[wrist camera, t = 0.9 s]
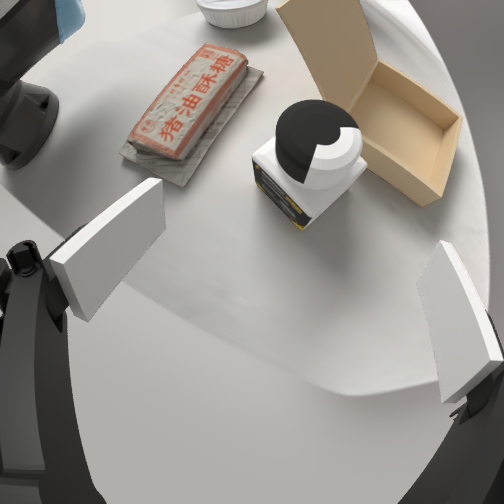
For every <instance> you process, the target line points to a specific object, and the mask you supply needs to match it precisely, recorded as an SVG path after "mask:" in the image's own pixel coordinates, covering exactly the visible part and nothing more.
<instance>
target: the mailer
mask: <svg viewBox="0 0 504 504" xmlns="http://www.w3.org/2000/svg"><path fill="white" fill-rule="evenodd" d="M275 9H276V11H277V12H278V14H279V15H280V17H281V19H282V20H283V22H284V24H285V26H286V27H287V29H288V31H289V33H290V34H291V36H292V38H293V40H294V42H295V43H296V45H297V47H298V49H299V51H300V53H301V55H302V57H303V59H304V61H305V63H306V65H307V67H308V69H309V71H310V73H311V75H312V77H313V79H314V81H315V83H316V85H317V87H318V90H319V92H320V94H321V96H322V99H323V101H327V102H330V103H333V104H335V105H337V106H339V107H341V108H342V109H344V110H345V111H346V112H347V113H349V114H350V115H351V116H352V118H353V119H354V120H355V121H356V123H357V125H358V126H359V129H360V131H361V135H362V141H363V144H362V151H361V154H360V156H361V157H362V158H363V159H364V160H365V161H366V163H367V169H369V170H370V171H372V172H373V173H375V174H376V175H378V176H379V177H381V178H382V179H384V180H385V181H386V182H388V183H389V184H391V185H392V186H394V187H395V188H396V189H398V190H399V191H400V192H402V193H403V194H405V195H406V196H407V197H409V198H410V199H411V200H412V201H414V202H415V203H416V204H418V205H419V206H420V207H423V206H425V205H427V204H429V203H431V202H433V201H436V200H438V199H440V198H442V195H443V192H444V189H445V186H446V182H447V179H448V176H449V173H450V169H451V166H452V162H453V159H454V155H455V151H456V147H457V143H458V139H459V134H460V130H461V125H462V120H463V117H462V116H461V115H460V114H458V113H457V112H456V111H455V110H454V109H452V108H451V107H450V106H449V105H448V104H446V103H445V102H444V101H442V100H441V99H440V98H439V97H437V96H436V95H435V94H433V93H432V92H431V91H429V90H428V89H426V88H425V87H424V86H422V85H421V84H419V83H418V82H416V81H415V80H413V79H412V78H410V77H409V76H407V75H406V74H404V73H403V72H401V71H399V70H398V69H396V68H394V67H393V66H391V65H389V64H388V63H386V62H384V61H383V60H381V59H379V58H377V54H376V50H375V47H374V43H373V40H372V37H371V34H370V31H369V27H368V25H367V22H366V19H365V16H364V13H363V10H362V8H361V5H360V2H359V0H286V1H285V2H283V3H282V4H281V5H279V6H278V7H277V8H275Z"/></svg>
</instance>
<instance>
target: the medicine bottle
mask: <svg viewBox="0 0 504 504" xmlns="http://www.w3.org/2000/svg"><path fill="white" fill-rule="evenodd" d="M362 144H363V141H362V135H361V131H360V129H359V126H358V125H357V123H356V121H355V120H354V119H353V118H352V116H351V115H350V114H349V113H347V112H346V111H345V110H344V109H342V108H341V107H339V106H337V105H335V104H333V103H330V102H327V101H323V100H304V101H300V102H297V103H295V104H293V105H291V106H290V107H288V108H287V109H286V110H285V111H284V112H283V113H282V114H281V116H280V117H279V119H278V122H277V125H276V136H275V137H273V138H272V139H271V140H269V141H268V142H267V143H266V144H264V145H263V146H262V147H261V148H259V149H258V150H257V151H256V152H254V153H253V155H252V162H253V169H254V176H255V182H256V184H257V185H258V186H259V187H260V188H261V189H262V190H263V191H264V192H265V193H266V194H267V195H268V197H269V198H270V199H271V200H272V201H273V202H274V203H275V204H276V205H277V206H278V207H279V208H280V209H281V210H282V211H283V212H284V213H285V214H286V215H287V217H288V218H289V219H290V220H291V221H292V222H293V223H294V224H295V225H296V226H297V227H298V228H299V229H300V230H304V229H305V228H306V227H308V226H309V225H310V224H311V223H312V222H313V221H314V220H315V219H316V218H317V217H318V216H319V215H321V214H322V213H323V212H324V211H325V210H326V209H327V208H328V207H329V206H330V205H331V204H332V203H333V202H335V201H336V200H337V199H338V198H339V197H340V196H341V195H342V194H343V193H344V192H345V191H346V190H347V189H348V188H349V187H350V186H351V185H352V184H353V183H354V181H355V180H356V179H357V178H358V177H359V176H360V175H361V174H362V173H363V171H364V170H365V169H366V168H367V163H366V161H365V160H364V159H363V158H362V157H361V156H360V154H361V151H362Z"/></svg>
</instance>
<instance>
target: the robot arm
mask: <svg viewBox="0 0 504 504" xmlns="http://www.w3.org/2000/svg"><path fill="white" fill-rule="evenodd" d="M84 21H85V12H84V9H83V6H82V2H81V0H0V163H1V164H2V165H3V166H5V167H7V168H10V169H12V170H15V169H19V168H21V167H23V166H24V165H25V164H27V163H28V162H29V161H30V160H31V159H32V158H33V157H34V156H35V154H36V153H37V152H38V151H39V149H40V148H41V146H42V145H43V143H44V142H45V140H46V139H47V137H48V135H49V133H50V131H51V129H52V127H53V125H54V122H55V119H56V116H57V112H58V98H57V96H56V95H55V94H54V93H53V92H52V91H50V90H49V89H47V88H45V87H41V86H37V85H33V84H29V83H25V82H23V81H21V80H20V78H21V77H22V76H23V75H24V74H25V73H26V72H27V71H29V70H30V69H31V68H32V67H33V66H34V65H35V64H36V63H37V62H38V61H40V60H41V59H42V58H43V57H44V56H46V55H47V54H48V53H49V52H50V51H51V50H53V49H54V48H55V47H57V46H58V45H59V44H63V42H64V41H65V40H66V39H67V38H68V37H70V36H71V35H72V34H73V33H75V32H76V31H77V30H79V29H80V28H81V27H82V25H83V24H84ZM165 229H166V225H165V212H164V196H163V179H156V178H148V179H146V180H145V181H144V182H142V183H141V184H139V185H138V186H136V187H135V188H134V189H132V190H131V191H130V192H128V193H127V194H125V195H124V196H123V197H121V198H120V199H119V200H117V201H116V202H115V203H114V204H112V205H111V206H110V207H108V208H107V209H106V210H105V211H103V212H102V213H101V214H99V215H98V216H97V217H96V218H95V219H93V220H92V221H91V222H89V223H87V224H85V225H83V226H81V227H79V228H78V229H77V230H76V231H75V232H74V233H72V235H70V236H69V237H68V238H67V239H65V241H63V242H62V243H61V244H60V245H59V246H58V247H57V248H55V249H54V250H53V251H52V252H51V253H50V254H49V255H48V256H47V257H46V258H45V259H44V260H43V261H42V259H41V256H40V253H39V251H38V248H37V246H36V243H35V242H34V241H31V240H26V241H22V242H20V243H18V244H16V245H15V246H13V247H12V248H11V249H10V250H9V252H8V253H7V255H6V256H7V259H8V261H9V263H10V265H11V268H12V269H10V268H9V266H8V264H7V262H6V260H5V259H4V258H0V309H1V311H2V312H3V314H2V316H1V317H0V504H106V501H105V500H104V498H103V497H102V495H101V494H100V493H99V492H98V491H97V490H96V488H95V486H94V484H93V482H92V479H91V476H90V472H89V469H88V466H87V462H86V459H85V455H84V451H83V447H82V443H81V438H80V435H79V430H78V424H77V419H76V414H75V408H74V402H73V394H72V387H71V378H70V368H69V356H68V335H67V314H66V312H65V309H66V308H67V307H68V306H70V308H71V310H72V312H73V314H74V315H75V316H76V317H78V318H80V319H82V320H85V321H86V322H89V321H90V320H91V318H92V317H93V316H94V314H95V313H96V311H97V310H98V309H99V308H100V306H101V305H102V304H103V303H104V301H105V300H106V299H107V297H108V296H109V295H110V294H111V292H112V291H113V290H114V289H115V287H116V286H117V285H118V284H119V283H120V281H121V280H122V279H123V278H124V276H125V275H126V274H127V273H128V272H129V270H130V269H131V268H132V267H133V266H134V265H135V263H136V262H137V261H138V260H139V259H140V257H141V256H142V255H143V254H144V253H145V252H146V251H147V249H148V248H149V247H150V246H151V245H152V244H153V243H154V242H155V240H156V239H157V238H158V237H159V236H160V235H161V234H162V233H163V231H164V230H165ZM416 286H417V289H418V292H419V296H420V299H421V303H422V306H423V310H424V314H425V317H426V321H427V325H428V329H429V334H430V338H431V342H432V347H433V352H434V357H435V362H436V367H437V373H438V379H439V386H440V393H441V400H442V403H457V402H458V401H459V400H460V399H461V398H463V397H464V396H465V395H466V396H467V402H466V403H465V404H463V405H462V406H461V407H459V408H458V409H457V410H455V411H454V412H452V413H451V415H450V416H449V417H452V416H454V415H455V414H457V413H458V415H457V417H456V418H455V419H453V420H454V423H453V424H452V426H451V428H450V430H449V431H448V433H447V435H446V437H445V438H444V440H443V442H442V443H441V445H440V447H439V448H438V450H437V451H436V453H435V454H434V456H433V458H432V459H431V461H430V462H429V464H428V465H427V467H426V468H425V469H424V471H423V472H422V474H421V475H420V476H419V478H418V479H417V480H416V482H415V483H414V484H413V485H412V487H411V488H410V489H409V490H408V492H407V493H406V494H405V495H404V497H403V498H402V499H401V500H400V501H399V502H398V504H504V352H503V348H502V346H501V343H500V340H499V338H498V334H497V332H496V330H495V327H494V324H493V321H492V319H491V317H490V316H489V314H488V313H487V311H486V310H485V308H484V306H483V304H482V302H481V299H480V297H479V295H478V293H477V291H476V289H475V287H474V285H473V283H472V281H471V279H470V277H469V275H468V273H467V271H466V269H465V267H464V265H463V263H462V261H461V260H460V258H459V256H458V254H457V252H456V251H455V249H454V247H453V246H452V244H451V243H448V242H445V241H442V240H439V241H438V243H437V245H436V247H435V250H434V252H433V254H432V256H431V258H430V259H429V261H428V263H427V265H426V267H425V269H424V271H423V273H422V275H421V276H420V278H419V280H418V282H417V284H416Z"/></svg>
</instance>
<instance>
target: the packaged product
mask: <svg viewBox="0 0 504 504" xmlns="http://www.w3.org/2000/svg"><path fill="white" fill-rule="evenodd" d="M247 65H248V60H247V59H246V57H245V56H244V55H243V54H241V53H240V52H238V50H232V49H229V48H225V47H222V46H219V45H215V44H210V43H205V44H204V45H203V46H202V47H201V48H200V49H199V50H198V51H197V52H196V53H195V54H194V55H193V56H192V57H191V58H190V59H189V61H188V62H187V63H186V64H185V65H183V67H182V68H181V69H180V70H179V71H178V72H177V74H176V75H175V76H174V77H173V78H172V79H171V81H170V82H169V83H168V85H166V86H165V88H164V89H163V90H162V92H161V93H160V94H159V95H158V96H157V98H156V99H155V100H154V102H153V103H152V104H151V105H150V107H149V108H148V109H147V111H146V112H145V113H144V115H143V116H142V118H141V120H140V121H139V122H138V123H137V124H136V125H135V127H134V128H133V130H132V131H131V133H130V135H129V136H128V139H127V141H126V143H125V144H124V146H123V147H122V149H121V150H120V151H119V154H120V155H122V156H123V157H125V158H126V159H128V160H130V161H132V162H134V163H136V164H139V165H141V166H143V167H145V168H146V169H148V170H149V171H151V172H153V173H155V174H156V175H158V176H160V177H162V178H164V179H166V180H167V181H170V182H172V183H175V184H177V185H180V186H182V187H184V186H185V185H186V183H187V182H188V180H189V179H190V177H191V176H192V174H193V173H194V171H195V170H196V168H197V166H198V165H199V163H200V162H201V160H202V158H203V157H204V155H205V153H206V152H207V150H208V148H209V147H210V146H211V144H212V143H213V141H214V140H215V139H216V137H217V136H218V134H219V133H220V132H221V130H222V129H223V127H224V126H225V125H226V123H227V122H228V121H229V120H230V119H231V117H232V116H233V114H234V113H235V112H236V110H237V109H238V107H239V105H240V103H241V102H242V101H243V99H244V98H245V97H246V96H247V95H248V93H249V92H250V91H251V90H252V88H253V87H254V86H255V84H256V83H257V81H258V80H259V78H260V77H261V76H262V75H263V73H264V72H263V71H260V70H257V69H255V68H252V67H249V66H247Z"/></svg>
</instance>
